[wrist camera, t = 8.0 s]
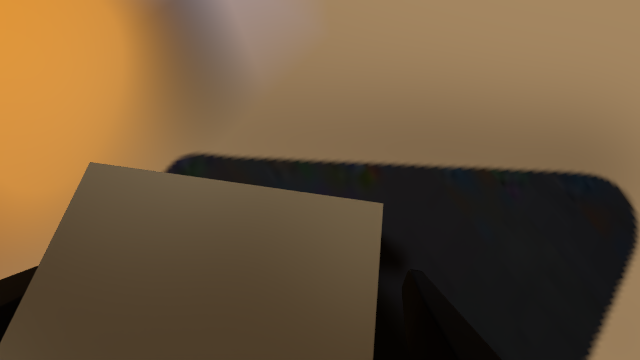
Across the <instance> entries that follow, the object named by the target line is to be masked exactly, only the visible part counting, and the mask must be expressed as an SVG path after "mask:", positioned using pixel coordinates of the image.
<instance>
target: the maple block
mask: <svg viewBox="0 0 640 360" xmlns="http://www.w3.org/2000/svg"><path fill="white" fill-rule="evenodd" d="M382 214H383V204H382V203H375V202H368V201H361V200H354V199H347V198H340V197H333V196H325V195H318V194H311V193H304V192H297V191H290V190H283V189H276V188H269V187H262V186H255V185H248V184H241V183H234V182H227V181H220V180H213V179H206V178H198V177H191V176H184V175H177V174H170V173H163V172H156V171H148V170H142V169H135V168H128V167H121V166H114V165H107V164H99V163H93V162H90V163H89V165H88V167H87V169H86V171H85V174H84V176H83V178H82V180H81V182H80V184H79V186H78V188H77V190H76V192H75V194H74V196H73V198H72V200H71V202H70V204H69V206H68V208H67V210H66V212H65V214H64V216H63V218H62V220H61V222H60V224H59V226H58V228H57V230H56V232H55V234H54V236H53V238H52V240H51V242H50V244H49V246H48V248H47V250H46V252H45V254H44V256H43V258H42V260H41V262H40V264H39V266H38V268H37V270H36V272H35V274H34V276H33V278H32V280H31V282H30V284H29V286H28V288H27V290H26V292H25V294H24V296H23V298H22V300H21V302H20V304H19V306H18V308H17V310H16V312H15V314H14V316H13V318H12V320H11V322H10V324H9V326H8V328H7V330H6V332H5V334H4V336H3V338H2V340H1V342H0V360H373V350H374V335H375V320H376V305H377V290H378V274H379V259H380V244H381V229H382Z"/></svg>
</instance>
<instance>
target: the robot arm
mask: <svg viewBox="0 0 640 360" xmlns="http://www.w3.org/2000/svg"><path fill="white" fill-rule="evenodd" d="M37 268H38V266H36V267H33V268H31V269H28V270H25V271H23V272H20V273H17V274H15V275H12V276H9V277H7V278H4V279H1V280H0V342H1V340H2V338H3V336H4V334H5V332H6V330H7V328H8V326H9V324H10V322H11V320H12V318H13V316H14V314H15V312H16V310H17V308H18V306H19V304H20V302H21V300H22V298H23V296H24V294H25V292H26V290H27V288H28V286H29V284H30V282H31V280H32V278H33V276H34V274H35V272H36V270H37ZM402 299H403V310H404V322H405V332H406V341H407V347H408V352H409V357H410V360H501V359H500V357H499V356H498V355H497V354H496V353H495V352H494V351H493V350H492V349H491V347H490V346H489V345H488V344H487V343H486V342H485V341H484V340H483V339H482V337H481V336H480V335H479V334H478V333H477V332H476V331H475V330H474V329H473V327H472V326H471V325H470V324H469V323H468V322H467V321H466V320H465V319H464V317H463V316H462V315H461V314H460V313H459V312H458V311H457V310H456V309H455V307H454V306H453V305H452V304H451V303H450V302H449V301H448V300H447V299H446V297H445V296H444V295H443V294H442V293H441V292H440V291H439V290H438V289H437V287H436V286H435V285H434V284H433V283H432V282H431V281H430V280H429V279H428V277H427V276H426V275H425V274H424V273H423V272H422V271H418V270H412V269H410V270H409V271H408V272H407V275H406V278H405V280H404V283H403V286H402Z"/></svg>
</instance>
